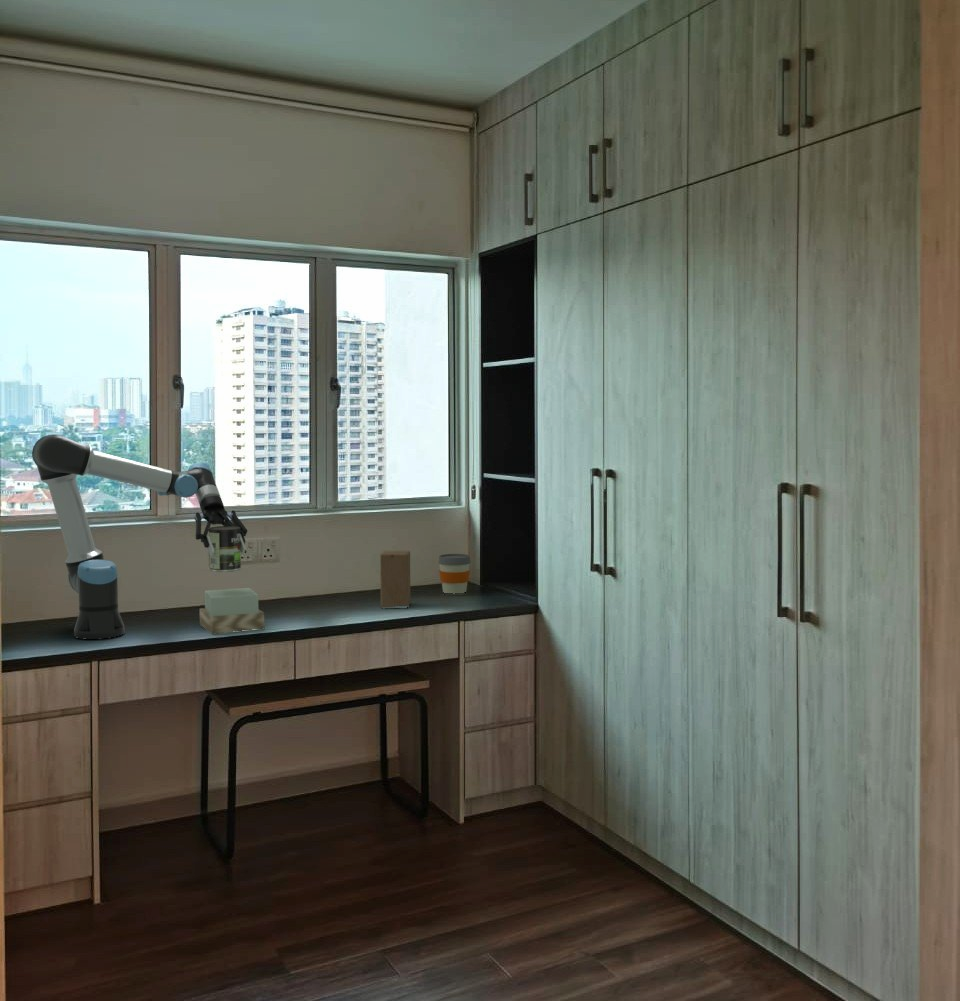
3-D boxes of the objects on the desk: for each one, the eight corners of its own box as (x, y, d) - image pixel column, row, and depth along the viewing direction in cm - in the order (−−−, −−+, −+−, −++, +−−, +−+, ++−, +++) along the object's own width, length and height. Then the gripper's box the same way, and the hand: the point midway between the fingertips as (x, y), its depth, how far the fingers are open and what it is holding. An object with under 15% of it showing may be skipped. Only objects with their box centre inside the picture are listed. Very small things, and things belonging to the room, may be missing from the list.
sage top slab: (211, 616, 325) (211, 598, 324) (204, 608, 338) (204, 590, 338) (258, 613, 330) (258, 594, 330) (250, 605, 344) (249, 587, 344)
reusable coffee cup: (438, 591, 404) (438, 553, 403) (469, 590, 405) (469, 553, 403) (439, 596, 391) (438, 558, 390) (471, 596, 392) (471, 558, 391)
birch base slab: (212, 636, 324) (211, 617, 323) (199, 626, 339) (199, 608, 338) (264, 630, 332) (264, 612, 331) (250, 621, 347) (249, 604, 346)
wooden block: (408, 608, 367) (407, 554, 365) (380, 608, 367) (380, 554, 365) (410, 603, 377) (410, 550, 375) (383, 603, 377) (383, 550, 375)
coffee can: (246, 567, 341) (245, 526, 339) (233, 572, 331) (232, 530, 329) (217, 566, 343) (216, 525, 341) (203, 571, 332) (203, 529, 331)
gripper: (238, 506, 354) (257, 557, 342) (174, 510, 341) (192, 562, 329) (244, 492, 349) (263, 543, 338) (180, 495, 336) (197, 548, 325)
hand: (228, 552), depth 334 cm, fingers closed on coffee can, 10 cm apart
